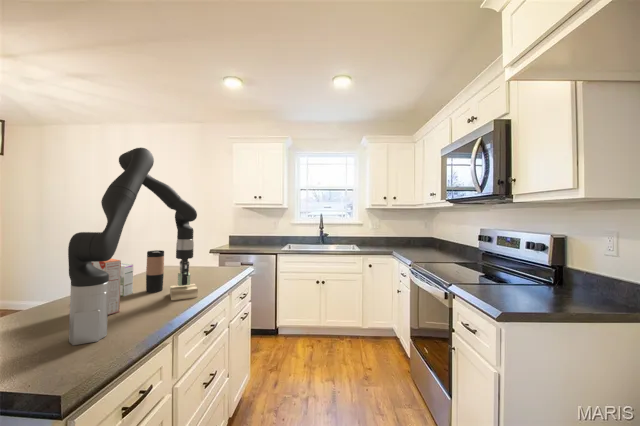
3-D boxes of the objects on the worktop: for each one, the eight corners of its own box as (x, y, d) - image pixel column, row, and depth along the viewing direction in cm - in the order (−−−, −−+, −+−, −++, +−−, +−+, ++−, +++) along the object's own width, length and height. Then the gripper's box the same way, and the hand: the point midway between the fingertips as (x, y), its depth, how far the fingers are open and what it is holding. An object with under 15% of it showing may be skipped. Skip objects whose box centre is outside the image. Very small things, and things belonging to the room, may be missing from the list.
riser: (197, 297, 131) (197, 288, 131) (171, 300, 126) (171, 291, 126) (194, 291, 141) (194, 283, 141) (170, 294, 135) (170, 285, 135)
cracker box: (84, 310, 111) (86, 257, 111) (101, 305, 116) (103, 256, 116) (102, 317, 104) (104, 261, 104) (120, 312, 109) (121, 259, 109)
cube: (190, 285, 132) (190, 274, 132) (178, 286, 130) (178, 275, 130) (188, 282, 137) (189, 272, 137) (177, 283, 134) (177, 273, 134)
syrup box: (133, 293, 135) (134, 263, 135) (123, 296, 129) (124, 265, 129) (122, 292, 135) (123, 262, 136) (112, 295, 130) (113, 265, 130)
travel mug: (146, 289, 142) (148, 250, 142) (163, 288, 145) (165, 250, 145) (144, 293, 135) (145, 252, 135) (162, 292, 138) (163, 252, 138)
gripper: (195, 249, 129) (194, 286, 129) (191, 246, 141) (190, 279, 141) (177, 250, 125) (176, 288, 125) (175, 246, 137) (174, 281, 137)
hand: (183, 283), depth 133 cm, fingers closed on cube, 5 cm apart
